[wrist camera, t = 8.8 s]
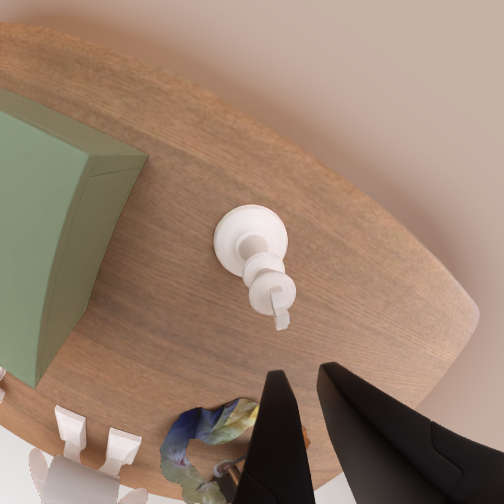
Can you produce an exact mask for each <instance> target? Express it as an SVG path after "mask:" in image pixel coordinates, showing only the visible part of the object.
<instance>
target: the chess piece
mask: <svg viewBox="0 0 504 504" xmlns="http://www.w3.org/2000/svg"><path fill="white" fill-rule="evenodd" d="M213 243H214V250H215V253H216V255H217V257H218V259H219V261H220V263H221V264H222V265H223V266H224V267H225V268H226V269H227V270H228V271H229V272H231V273H233V274H235V275H237V276H240V277H242V278H243V281H244V283H245V284H246V286H247V287H248V288H249V301H250V304H251V306H252V307H253V308H254V309H255V310H256V311H257V312H259V313H261V314H264V315H274V322H275V326H276V329H277V331H278V330H283V329H287V328H288V325H287V324H290V319H289V313H288V311H287V309H288V308H289V307H290V306H291V305H292V303H293V302H294V300H295V296H296V287H295V284H294V282H293V281H292V279H291V278H290V277H289V276H288V275H286V274H285V267H284V264H283V262H282V260H283V258H284V256H285V253H286V250H287V244H288V238H287V233H286V229H285V226H284V224H283V222H282V221H281V219H280V218H279V217H278V216H277V215H276V214H275V213H274V212H273V211H271V210H270V209H268V208H266V207H263V206H259V205H243V206H240V207H237V208H235V209H233V210H231V211H229V212H228V213H227V214H226V215H225V216H224V217H223V218H222V219H221V220H220V222H219V223H218V225H217V227H216V230H215V233H214V240H213Z"/></svg>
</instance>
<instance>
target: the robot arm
mask: <svg viewBox="0 0 504 504" xmlns="http://www.w3.org/2000/svg"><path fill="white" fill-rule="evenodd" d="M317 393H318V397H319V400H320V404H321V408H322V412H323V415H324V419H325V423H326V427H327V430H328V434H329V437H330V440H331V442H332V445H333V447H334V450H335V452H336V455H337V457H338V459H339V462H340V464H341V467H342V469H343V472H344V474H345V476H346V479H347V481H348V484H349V486H350V488H351V491H352V493H353V496H354V498H355V501H356V503H357V504H504V453H503V452H501V451H498V450H496V449H493V448H490V447H487V446H485V445H482V444H480V443H477V442H474V441H472V440H470V439H467V438H465V437H463V436H460V435H458V434H456V433H454V432H452V431H450V430H448V429H446V428H445V427H443V426H441V425H439V424H437V423H436V422H434V421H431V420H430V419H428V418H427V417H425V416H423V415H421V414H420V413H418V412H416V411H414V410H413V409H411V408H409V407H408V406H406V405H404V404H403V403H401V402H399V401H398V400H396V399H394V398H393V397H391V396H389V395H388V394H386V393H384V392H383V391H381V390H379V389H378V388H376V387H375V386H373V385H371V384H370V383H368V382H367V381H365V380H363V379H362V378H360V377H359V376H357V375H355V374H354V373H352V372H351V371H349V370H348V369H346V368H344V367H343V366H341V365H340V364H338V363H336V362H328V363H323V364H321V365H320V367H319V373H318V380H317ZM242 470H243V471H242V472H241V475H240V478H239V481H238V485H237V488H236V491H235V493H234V496H233V499H232V502H231V504H316V503H315V497H314V492H313V486H312V480H311V475H310V469H309V464H308V458H307V453H306V447H305V442H304V436H303V431H302V426H301V420H300V415H299V410H298V405H297V401H296V398H295V396H294V393H293V391H292V389H291V386H290V384H289V382H288V379H287V377H286V375H285V372H284V371H283V370H274V371H269V372H268V373H267V377H266V381H265V385H264V390H263V394H262V398H261V402H260V405H259V409H258V413H257V417H256V421H255V425H254V429H253V432H252V436H251V440H250V443H249V447H248V451H247V454H246V458H245V461H244V465H243V468H242Z"/></svg>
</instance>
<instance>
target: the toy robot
mask: <svg viewBox="0 0 504 504" xmlns="http://www.w3.org/2000/svg"><path fill="white" fill-rule="evenodd" d="M55 415H56V419H57V423H58V427H59V432H60V437H61V439H62V440H64V441H65V447H64V456H62V455H59V454H56V455H55V457H54V459H53V460H52V463H51V466H50V468H48V466H47V462H46V460H45V457H44V456H43V454H42V452H41V451H40V450H39V449H37V448H34V449H33V450H31V452H30V454H29V466H30V471H31V475H32V478H33V481H34V484H35V486H36V488H37V491H38V493H39V496H40V498H41V504H145V503H146V502H147V499H148V493H147V490H146V489H144V488H137V489H135V490H133V491H131V492H129V493H128V494H127V495H126V496H125V497H123V498H122V499H121V500H120V501H119V502H118V503H117V497H118V491H119V484H120V478H121V477H117V476H118V474H119V471H120V468H121V466H122V465H124V464H129V465H131V464H132V463H133V460H134V458H135V456H136V453H137V451H138V449H139V446H140V444H141V440H142V437H140V436H137V435H133V434H130V433H127V432H124V431H121V430H118V429H115V428H112V427H110V431H109V437H108V444H107V451H106V462H105V463H104V465H103V466H102V467H100V468H99V469H98V470H96V469H94V468H91V467H88V466H86V465H83V464H81V460H80V457H79V456H80V452H81V450H83V449H85V447H86V445H87V443H86V418H85V417H83V416H81V415H78V414H76V413H74V412H71V411H69V410H67V409H65V408H63V407H60V406H58V405H56V407H55Z"/></svg>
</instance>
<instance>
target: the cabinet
mask: <svg viewBox="0 0 504 504" xmlns="http://www.w3.org/2000/svg"><path fill="white" fill-rule="evenodd" d="M147 157H148V154H146V153H144V152H142V151H140V150H138V149H136V148H134V147H132V146H130V145H128V144H126V143H124V142H122V141H120V140H118V139H116V138H114V137H112V136H110V135H108V134H106V133H103V132H101V131H99V130H97V129H95V128H93V127H91V126H89V125H87V124H84V123H82V122H80V121H78V120H76V119H74V118H71V117H69V116H67V115H65V114H63V113H61V112H58V111H56V110H54V109H52V108H49V107H47V106H45V105H43V104H40V103H38V102H36V101H33V100H31V99H29V98H27V97H24V96H22V95H19V94H17V93H15V92H12V91H10V90H8V89H5V88H0V366H1V367H2V368H3V369H5V370H6V371H8V372H9V373H11V374H12V375H13V376H15V377H16V378H18V379H19V380H21V381H22V382H24V383H25V384H27V385H29V386H30V387H32V388H33V389H35V388H36V386H37V385H38V383H39V381H40V379H41V378H42V377H43V375H44V373H45V372H46V370H47V368H48V367H49V365H50V364H51V362H52V360H53V359H54V357H55V356H56V354H57V353H58V351H59V349H60V348H61V346H62V345H63V343H64V342H65V340H66V339H67V337H68V336H69V334H70V333H71V331H72V330H73V328H74V327H75V326H76V324H77V323H78V321H79V320H80V318H81V317H82V315H83V314H84V313H85V311H86V309H87V306H88V302H89V299H90V296H91V293H92V290H93V286H94V283H95V280H96V277H97V274H98V272H99V269H100V266H101V263H102V260H103V257H104V255H105V252H106V249H107V247H108V244H109V242H110V239H111V236H112V234H113V231H114V229H115V227H116V224H117V222H118V219H119V217H120V215H121V212H122V210H123V208H124V205H125V203H126V201H127V199H128V196H129V194H130V192H131V190H132V188H133V186H134V183H135V181H136V179H137V177H138V175H139V173H140V171H141V169H142V167H143V165H144V163H145V161H146V159H147Z"/></svg>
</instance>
